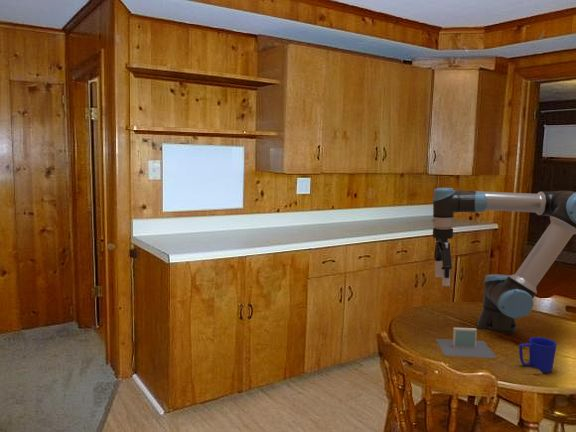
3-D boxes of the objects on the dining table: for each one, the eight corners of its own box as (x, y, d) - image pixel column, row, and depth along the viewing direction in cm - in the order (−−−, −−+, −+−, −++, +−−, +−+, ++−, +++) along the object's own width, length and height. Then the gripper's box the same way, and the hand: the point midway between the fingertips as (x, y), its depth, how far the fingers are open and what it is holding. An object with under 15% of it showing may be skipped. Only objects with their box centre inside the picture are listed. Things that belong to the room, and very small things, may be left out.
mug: (511, 365, 168) (513, 337, 167) (544, 364, 169) (546, 336, 168) (525, 375, 160) (527, 346, 159) (559, 374, 161) (562, 345, 160)
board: (483, 344, 186) (483, 340, 186) (496, 361, 170) (497, 357, 170) (435, 342, 188) (435, 338, 188) (444, 359, 172) (444, 355, 172)
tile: (474, 346, 180) (475, 328, 179) (475, 348, 179) (477, 330, 178) (452, 345, 181) (453, 327, 180) (453, 347, 179) (454, 329, 178)
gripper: (427, 223, 200) (426, 273, 203) (439, 232, 175) (439, 289, 178) (445, 223, 199) (444, 273, 202) (461, 232, 175) (460, 289, 177)
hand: (442, 281), depth 190 cm, fingers open, 13 cm apart
